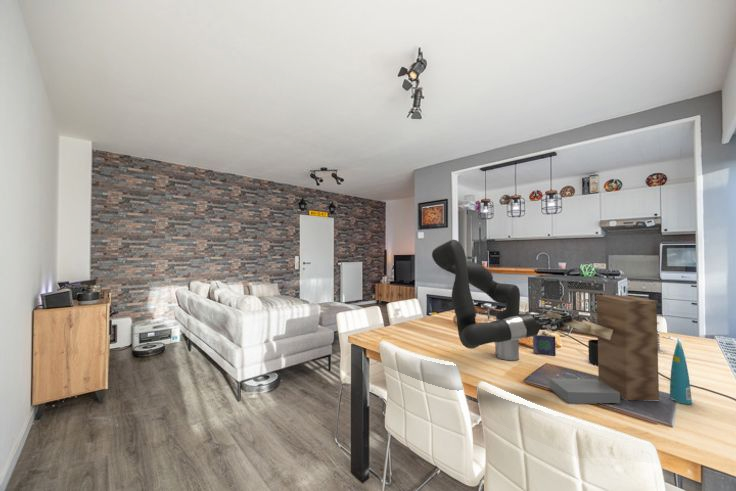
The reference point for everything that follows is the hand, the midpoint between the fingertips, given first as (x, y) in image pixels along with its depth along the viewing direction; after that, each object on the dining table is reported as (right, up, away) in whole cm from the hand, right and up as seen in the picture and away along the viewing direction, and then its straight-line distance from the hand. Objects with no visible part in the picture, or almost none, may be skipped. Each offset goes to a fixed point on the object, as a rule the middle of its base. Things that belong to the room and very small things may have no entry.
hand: (568, 317), depth 100 cm
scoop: (+2, -4, 0) cm, 4 cm away
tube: (+32, -26, -6) cm, 41 cm away
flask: (+14, -27, +37) cm, 48 cm away
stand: (+20, -25, 0) cm, 32 cm away
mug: (+33, -26, +25) cm, 50 cm away
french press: (+69, -27, +43) cm, 85 cm away
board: (+3, -25, -3) cm, 26 cm away
